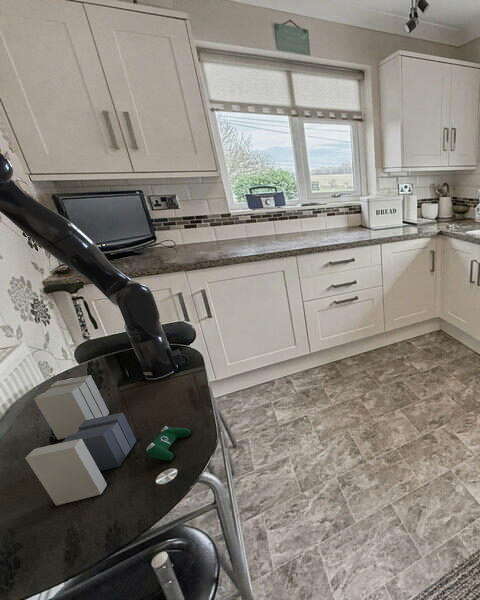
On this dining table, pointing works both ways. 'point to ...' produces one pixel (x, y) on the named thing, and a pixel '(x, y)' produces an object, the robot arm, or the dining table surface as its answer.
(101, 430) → the grey books
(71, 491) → the white book
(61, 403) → the white books
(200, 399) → the dining table surface
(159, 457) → the gaming controller
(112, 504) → the dining table surface
